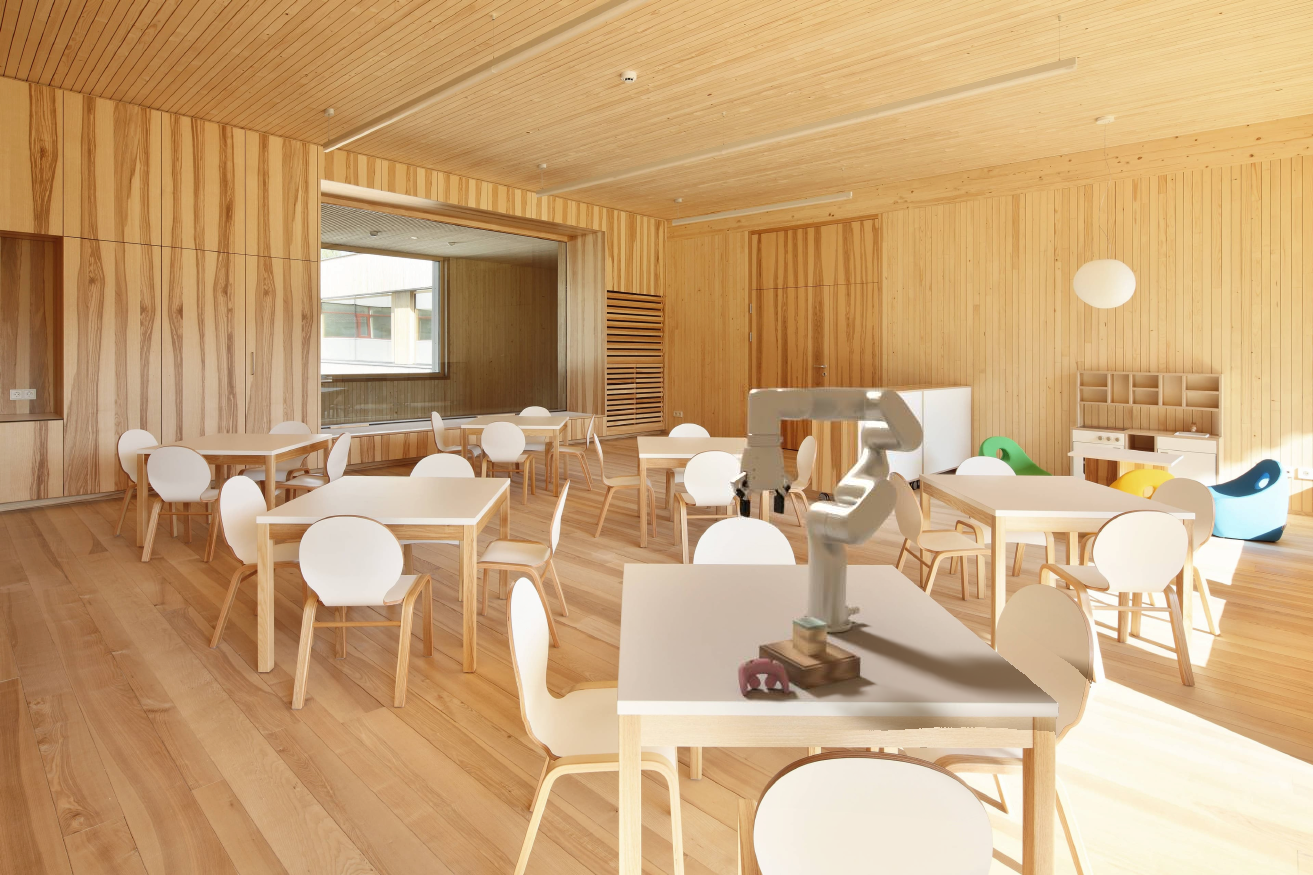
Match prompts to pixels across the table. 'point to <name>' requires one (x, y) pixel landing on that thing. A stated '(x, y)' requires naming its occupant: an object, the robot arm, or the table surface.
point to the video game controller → (762, 666)
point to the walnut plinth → (812, 663)
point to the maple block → (809, 636)
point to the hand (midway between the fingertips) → (762, 514)
